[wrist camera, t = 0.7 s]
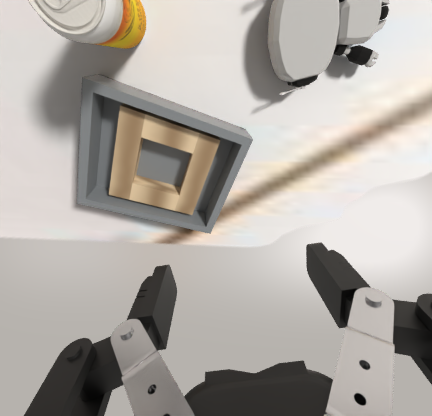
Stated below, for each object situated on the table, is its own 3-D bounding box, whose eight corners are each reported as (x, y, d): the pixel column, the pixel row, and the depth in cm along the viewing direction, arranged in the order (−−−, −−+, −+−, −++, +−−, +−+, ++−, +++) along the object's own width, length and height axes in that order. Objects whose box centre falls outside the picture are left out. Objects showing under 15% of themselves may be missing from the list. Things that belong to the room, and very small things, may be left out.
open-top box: (90, 186, 39) (76, 203, 34) (99, 74, 30) (82, 77, 25) (208, 215, 45) (210, 233, 40) (245, 129, 36) (253, 139, 31)
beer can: (157, 30, 28) (129, 8, 16) (119, 59, 29) (66, 59, 17) (123, -30, 25) (54, -119, 12) (83, 5, 26) (-16, -44, 14)
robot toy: (378, -51, 26) (257, -20, 26) (412, -69, 23) (272, -34, 22) (362, 68, 33) (266, 93, 33) (385, 69, 30) (278, 97, 29)
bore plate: (114, 185, 38) (108, 194, 36) (125, 101, 31) (120, 105, 29) (192, 205, 42) (192, 215, 39) (218, 134, 35) (220, 140, 32)
